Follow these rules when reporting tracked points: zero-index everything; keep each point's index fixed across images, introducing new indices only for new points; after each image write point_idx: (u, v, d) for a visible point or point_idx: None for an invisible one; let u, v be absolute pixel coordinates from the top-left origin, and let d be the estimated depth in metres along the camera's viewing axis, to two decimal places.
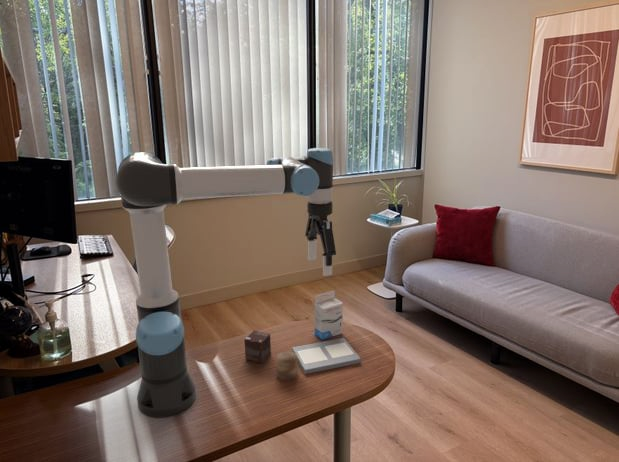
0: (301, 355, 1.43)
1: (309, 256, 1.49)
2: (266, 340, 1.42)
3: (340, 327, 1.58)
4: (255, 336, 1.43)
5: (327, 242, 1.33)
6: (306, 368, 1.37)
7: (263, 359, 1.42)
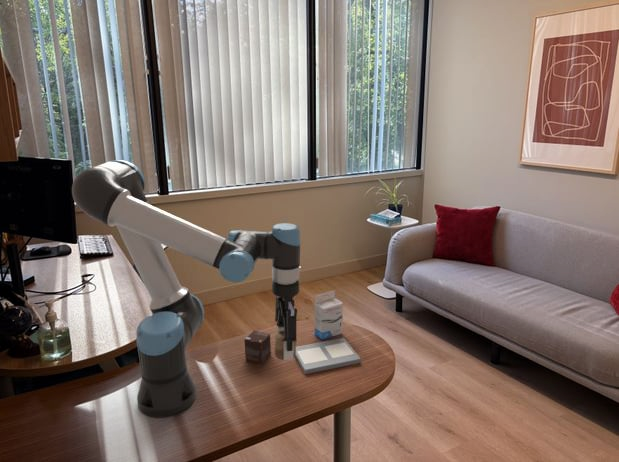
0: (301, 355, 1.43)
1: None
2: (266, 340, 1.42)
3: (340, 327, 1.58)
4: (255, 336, 1.43)
5: (289, 330, 1.25)
6: (306, 368, 1.37)
7: (263, 359, 1.42)
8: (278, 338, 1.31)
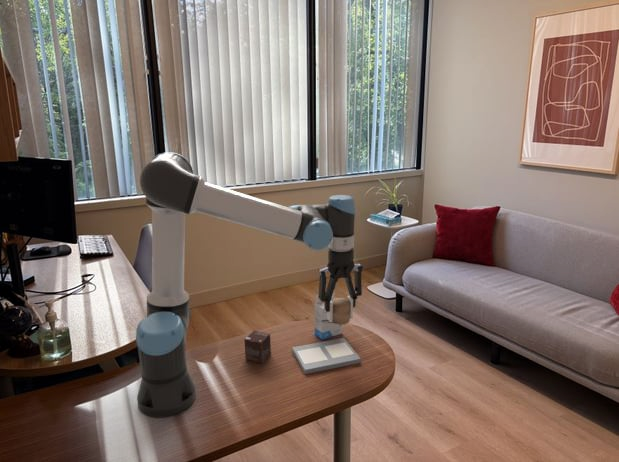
0: (301, 355, 1.43)
1: None
2: (266, 340, 1.42)
3: (340, 327, 1.58)
4: (255, 336, 1.43)
5: (319, 287, 1.38)
6: (306, 368, 1.37)
7: (263, 359, 1.42)
8: (335, 299, 1.43)
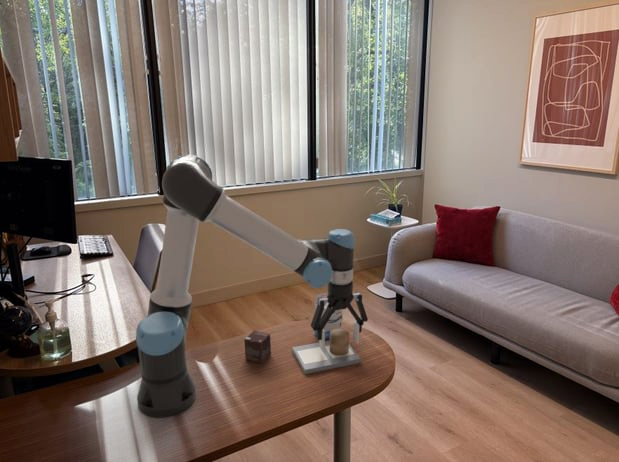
0: (301, 355, 1.43)
1: (353, 336, 1.48)
2: (266, 340, 1.42)
3: (340, 327, 1.58)
4: (255, 336, 1.43)
5: (314, 316, 1.40)
6: (306, 368, 1.37)
7: (263, 359, 1.42)
8: (334, 330, 1.46)
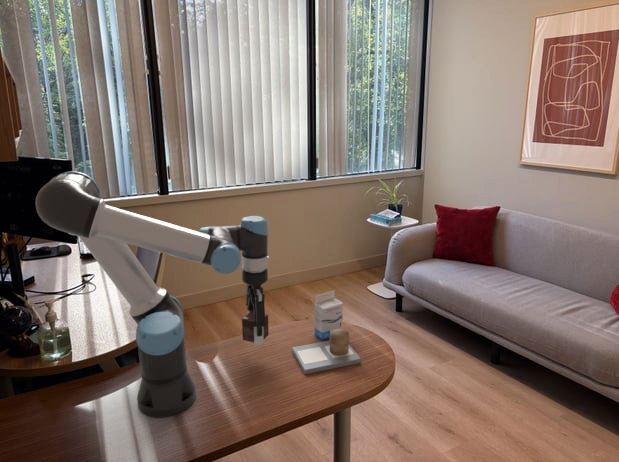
0: (301, 355, 1.43)
1: None
2: None
3: (340, 327, 1.58)
4: (253, 316, 1.41)
5: (257, 315, 1.33)
6: (306, 368, 1.37)
7: None
8: (334, 330, 1.46)
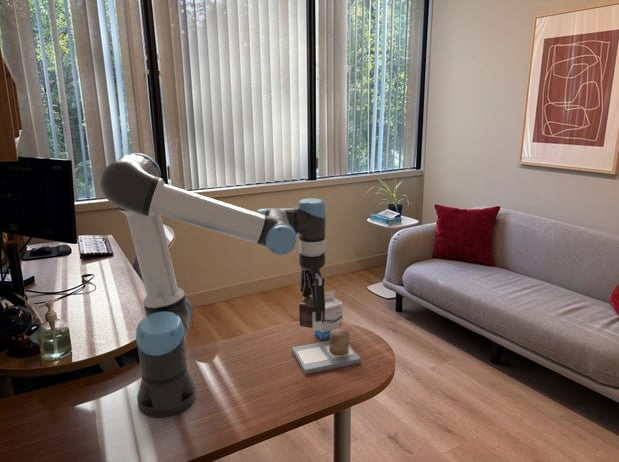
0: (301, 355, 1.43)
1: None
2: None
3: (340, 327, 1.58)
4: (309, 302, 1.38)
5: (317, 299, 1.30)
6: (306, 368, 1.37)
7: None
8: (334, 330, 1.46)
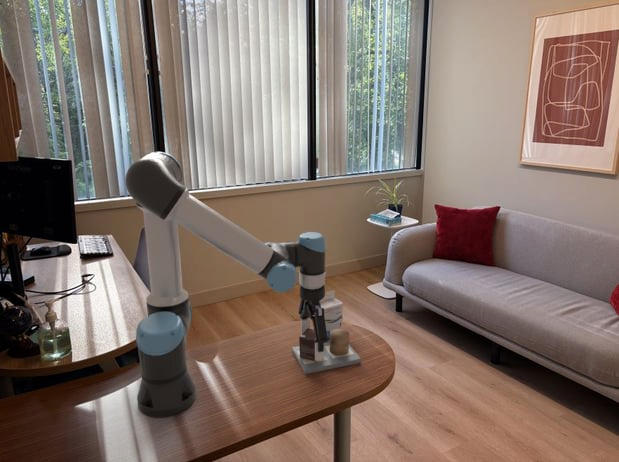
0: None
1: None
2: None
3: (340, 327, 1.58)
4: (309, 334, 1.41)
5: (319, 330, 1.31)
6: (306, 368, 1.37)
7: None
8: (334, 330, 1.46)
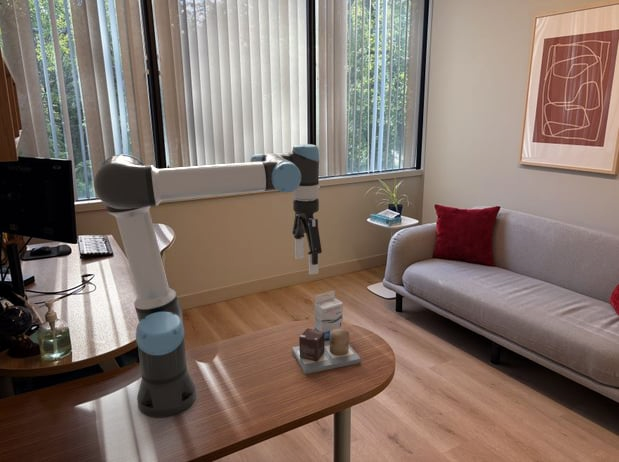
0: None
1: (296, 255, 1.47)
2: (321, 338, 1.40)
3: (340, 327, 1.58)
4: (309, 334, 1.41)
5: (313, 240, 1.30)
6: (306, 368, 1.37)
7: (318, 357, 1.40)
8: (334, 330, 1.46)
